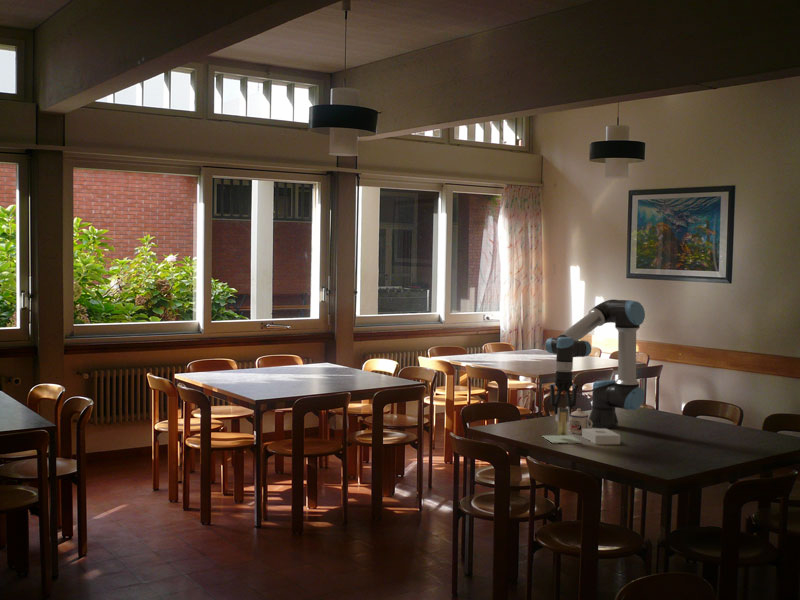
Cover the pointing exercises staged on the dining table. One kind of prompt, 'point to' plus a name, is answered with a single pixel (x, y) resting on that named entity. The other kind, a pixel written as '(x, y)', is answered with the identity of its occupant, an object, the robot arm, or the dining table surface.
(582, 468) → the dining table surface
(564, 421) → the yellow tall cylinder
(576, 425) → the teacup with lid
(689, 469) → the dining table surface
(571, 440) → the mat
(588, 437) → the white flat block
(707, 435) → the dining table surface
